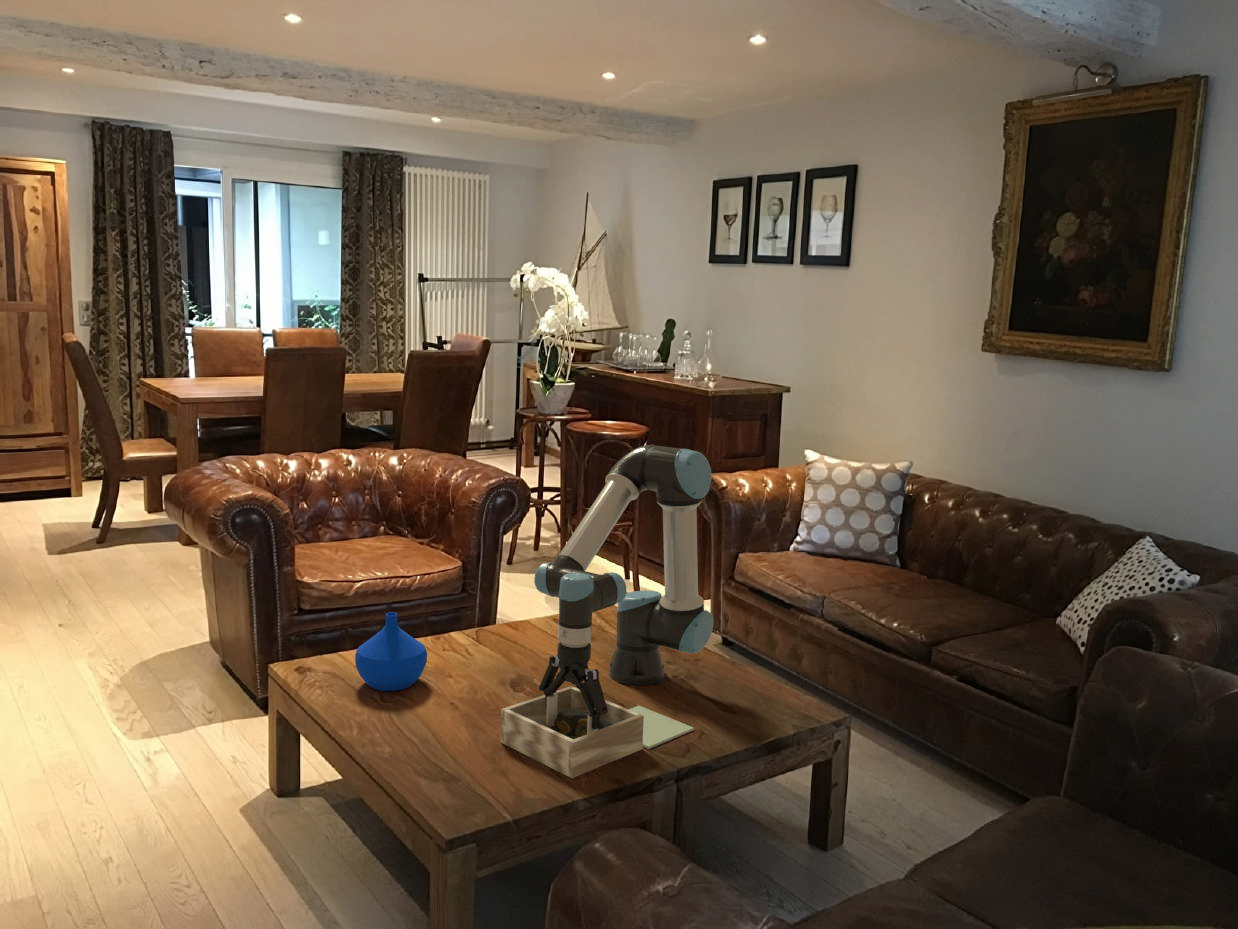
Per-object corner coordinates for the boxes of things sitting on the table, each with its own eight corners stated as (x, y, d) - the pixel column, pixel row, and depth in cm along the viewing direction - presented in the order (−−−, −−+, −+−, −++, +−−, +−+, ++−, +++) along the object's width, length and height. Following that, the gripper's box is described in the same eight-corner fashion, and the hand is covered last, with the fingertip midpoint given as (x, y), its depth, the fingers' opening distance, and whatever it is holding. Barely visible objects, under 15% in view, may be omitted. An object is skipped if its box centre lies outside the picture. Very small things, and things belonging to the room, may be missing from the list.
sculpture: (614, 738, 238) (615, 709, 237) (610, 748, 231) (611, 719, 230) (558, 733, 239) (559, 705, 238) (553, 743, 233) (554, 714, 232)
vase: (340, 690, 261) (339, 618, 258) (382, 668, 278) (382, 600, 275) (401, 703, 254) (401, 629, 251) (440, 679, 271) (441, 610, 268)
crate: (500, 742, 234) (501, 709, 233) (570, 717, 249) (571, 686, 248) (572, 778, 217) (573, 743, 216) (642, 749, 233) (643, 715, 232)
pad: (593, 724, 245) (593, 722, 245) (638, 707, 257) (639, 705, 257) (648, 749, 233) (648, 746, 233) (693, 730, 244) (693, 727, 244)
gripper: (525, 632, 235) (523, 719, 239) (601, 660, 218) (598, 754, 222) (549, 625, 241) (547, 711, 244) (625, 653, 224) (622, 744, 227)
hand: (571, 732), depth 233 cm, fingers open, 13 cm apart
